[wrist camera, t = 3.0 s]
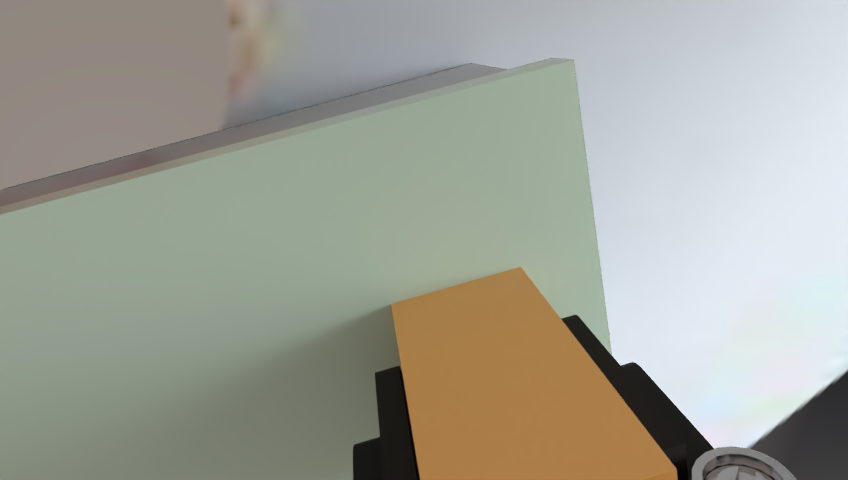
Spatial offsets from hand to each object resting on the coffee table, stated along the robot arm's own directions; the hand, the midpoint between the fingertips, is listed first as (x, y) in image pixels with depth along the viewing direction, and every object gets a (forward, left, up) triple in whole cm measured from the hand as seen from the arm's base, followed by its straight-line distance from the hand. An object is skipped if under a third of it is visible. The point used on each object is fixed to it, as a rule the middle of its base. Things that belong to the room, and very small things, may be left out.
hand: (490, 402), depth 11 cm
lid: (+5, 0, -3) cm, 6 cm away
